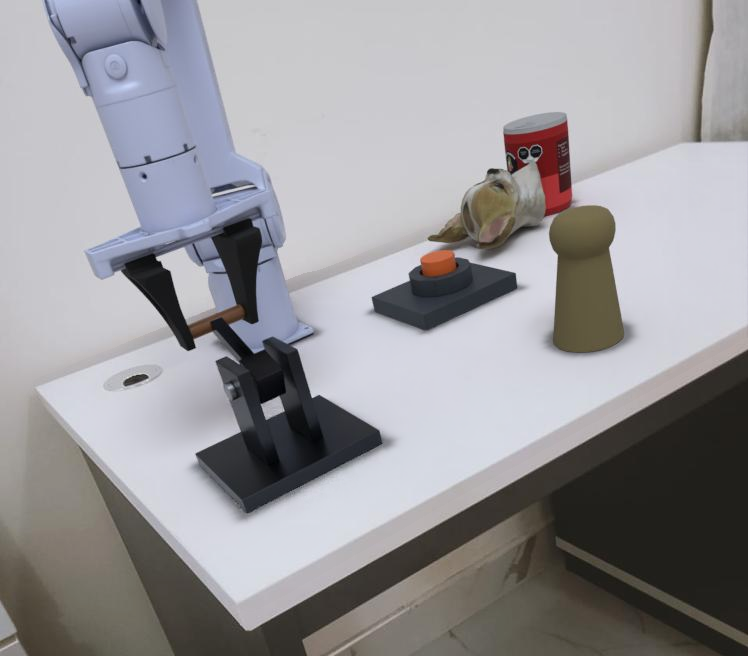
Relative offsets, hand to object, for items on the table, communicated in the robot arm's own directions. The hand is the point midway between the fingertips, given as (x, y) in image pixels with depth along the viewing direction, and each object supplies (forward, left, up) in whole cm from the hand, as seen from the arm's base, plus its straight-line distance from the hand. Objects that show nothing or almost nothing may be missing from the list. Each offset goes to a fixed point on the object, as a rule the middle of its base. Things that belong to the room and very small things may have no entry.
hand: (219, 333), depth 61 cm
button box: (-8, +27, -9) cm, 29 cm away
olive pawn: (+12, +28, -9) cm, 32 cm away
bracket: (+7, 0, -9) cm, 11 cm away
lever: (+3, 0, -2) cm, 4 cm away
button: (-8, +27, -6) cm, 29 cm away
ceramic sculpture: (-18, +43, -9) cm, 47 cm away
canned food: (-22, +54, -9) cm, 59 cm away
